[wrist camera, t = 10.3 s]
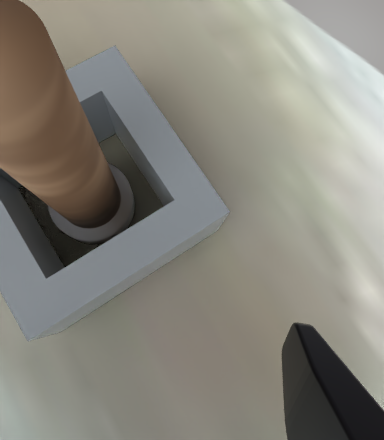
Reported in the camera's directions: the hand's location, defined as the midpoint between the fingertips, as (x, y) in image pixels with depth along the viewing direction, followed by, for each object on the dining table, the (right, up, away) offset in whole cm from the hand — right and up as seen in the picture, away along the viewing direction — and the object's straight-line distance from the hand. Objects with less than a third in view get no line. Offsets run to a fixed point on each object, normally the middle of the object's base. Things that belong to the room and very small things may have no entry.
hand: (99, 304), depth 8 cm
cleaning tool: (-3, +3, +12) cm, 13 cm away
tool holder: (-3, +3, +12) cm, 13 cm away
